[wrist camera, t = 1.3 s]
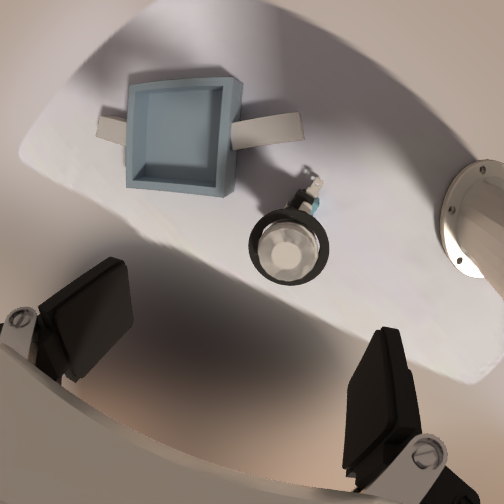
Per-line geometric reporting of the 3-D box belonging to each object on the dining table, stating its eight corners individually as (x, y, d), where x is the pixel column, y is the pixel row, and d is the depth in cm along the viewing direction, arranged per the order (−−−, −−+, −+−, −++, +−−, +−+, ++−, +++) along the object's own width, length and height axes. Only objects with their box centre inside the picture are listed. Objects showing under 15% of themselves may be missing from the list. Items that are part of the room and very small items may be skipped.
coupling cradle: (309, 88, 22) (308, 81, 19) (297, 199, 26) (294, 207, 23) (111, 93, 25) (93, 91, 23) (109, 180, 30) (92, 185, 27)
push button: (295, 163, 25) (281, 177, 16) (345, 194, 25) (359, 226, 16) (261, 221, 28) (230, 266, 19) (307, 250, 28) (299, 306, 19)
